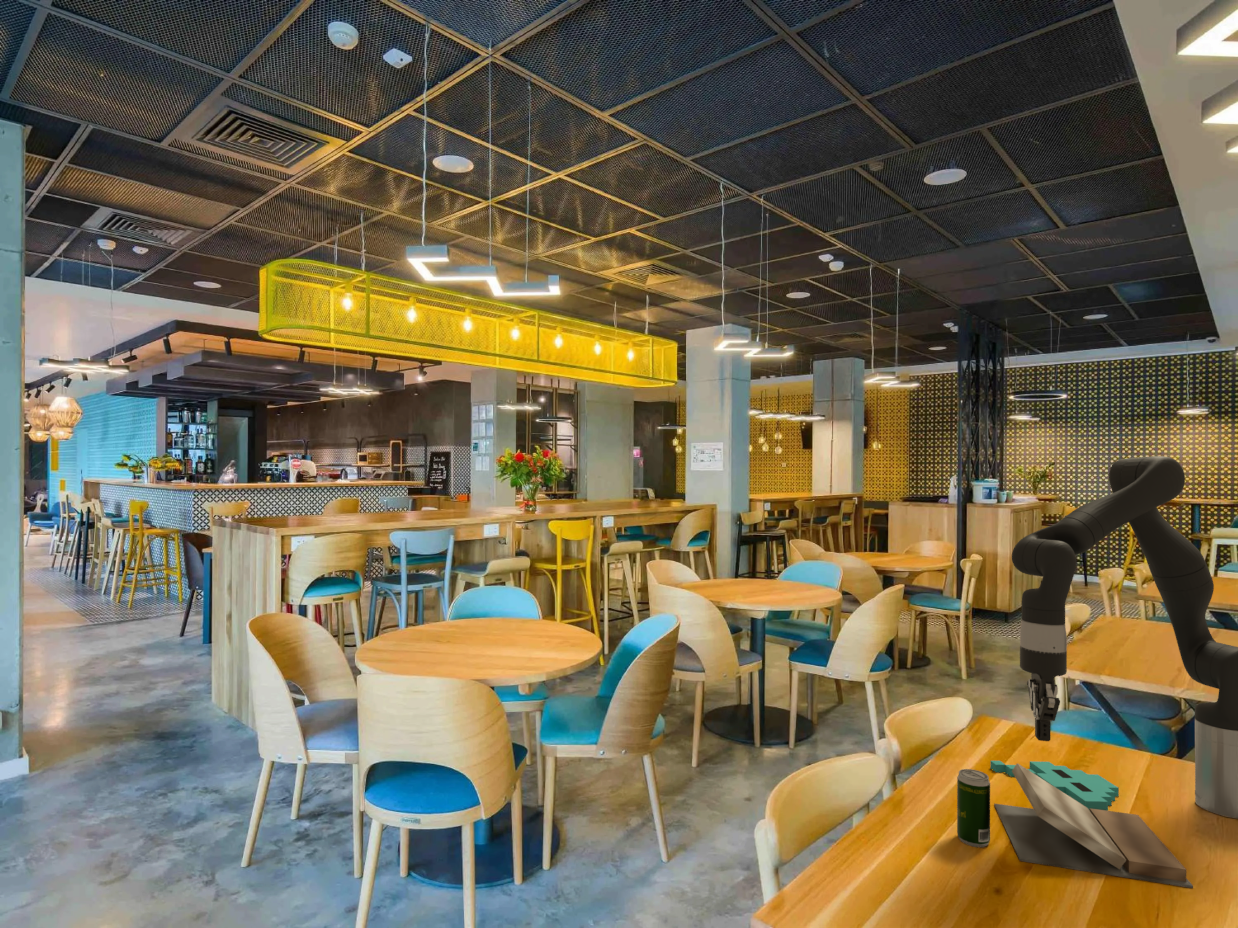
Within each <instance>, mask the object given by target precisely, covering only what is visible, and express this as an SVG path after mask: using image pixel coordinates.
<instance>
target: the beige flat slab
mask: <svg viewBox="0 0 1238 928" xmlns="http://www.w3.org/2000/svg"><path fill="white" fill-rule="evenodd" d="M1015 765H1016V766H1015V767H1014V769H1013V770H1012V772H1013V774H1014V776H1015V777H1014V778H1015V779H1016V781H1017V783H1018V785H1019V786H1020V788H1021V790H1022V791H1023V793H1024V795H1025V797H1026V798H1027V800H1028V802H1029V804H1030V805H1031V808H1032V809H1034V810H1035V812H1036V814H1037V815H1038V816H1039V817H1040V818H1042V819H1043V820H1045V821H1046V822H1048V823H1049V824H1051V825H1052V826H1054V827H1055V828H1057V829H1058V830H1060V831H1062V832H1063V833H1065V834H1066V835H1068V836H1069V837H1071V838H1072V839H1074V840H1075V841H1077V842H1078V843H1080V844H1081V845H1083V846H1084V847H1086V848H1087V849H1089V850H1091V851H1092V852H1094V853H1095V854H1097V855H1098V856H1100V857H1101V858H1103V859H1104V860H1106V861H1107V862H1109V863H1110V864H1112V865H1113V866H1115V867H1117V868H1118V869H1120V868H1121V867H1122V865H1123V864H1124V863H1125V861H1126V859H1125V857H1124V856H1123V855H1122V853H1121V852H1120V851H1119V849H1118V848H1117V847H1116V845H1115V844H1114V843H1113V841H1112V840H1111V839H1110V837H1109V836H1108V835H1107V833H1106V832H1105V831H1104V829H1103V828H1102V827H1101V825H1100V824H1099V823H1098V821H1097V820H1096V819H1095V817H1094V816H1093V815H1092V813H1091V812H1090V810H1089V809H1088V808H1087V807H1085V806H1084V805H1082V804H1081V803H1079V802H1077V801H1076V800H1074V799H1073V798H1071V797H1070V796H1068V795H1067V794H1065V793H1063V792H1062V791H1060V790H1059V789H1057V788H1056V787H1054V786H1052V785H1051V784H1049V783H1048V782H1046V781H1045V780H1043V779H1041V778H1040V777H1038V776H1037V775H1035V774H1034V773H1032V772H1031V771H1029V770H1027V769H1028V768H1026V767H1024V766H1022V765H1021V764H1019V763H1016V764H1015Z"/></svg>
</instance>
